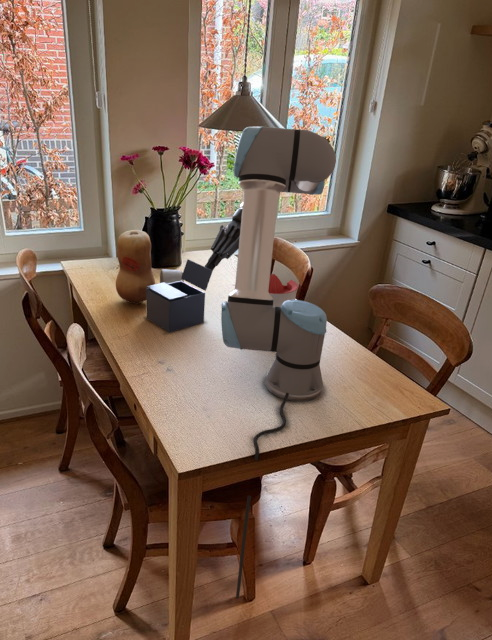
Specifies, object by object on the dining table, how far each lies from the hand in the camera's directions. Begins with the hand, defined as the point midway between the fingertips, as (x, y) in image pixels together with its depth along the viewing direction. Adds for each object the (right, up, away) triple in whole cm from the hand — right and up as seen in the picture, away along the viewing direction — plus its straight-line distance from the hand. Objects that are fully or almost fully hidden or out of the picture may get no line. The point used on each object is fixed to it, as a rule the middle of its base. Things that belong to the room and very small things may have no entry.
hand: (206, 271), depth 176 cm
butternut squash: (-25, -9, +12) cm, 29 cm away
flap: (-3, -1, -2) cm, 4 cm away
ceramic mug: (-14, -1, +25) cm, 29 cm away
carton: (-10, -16, 0) cm, 19 cm away
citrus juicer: (+20, -21, -4) cm, 29 cm away
